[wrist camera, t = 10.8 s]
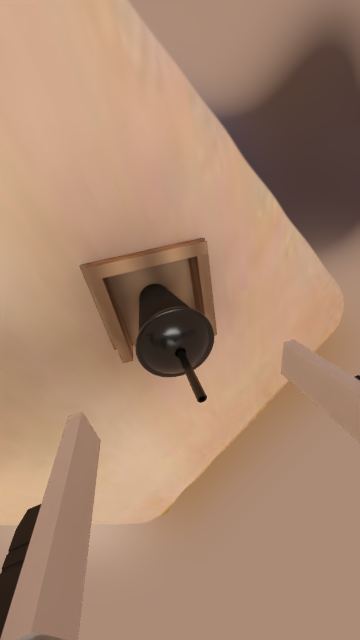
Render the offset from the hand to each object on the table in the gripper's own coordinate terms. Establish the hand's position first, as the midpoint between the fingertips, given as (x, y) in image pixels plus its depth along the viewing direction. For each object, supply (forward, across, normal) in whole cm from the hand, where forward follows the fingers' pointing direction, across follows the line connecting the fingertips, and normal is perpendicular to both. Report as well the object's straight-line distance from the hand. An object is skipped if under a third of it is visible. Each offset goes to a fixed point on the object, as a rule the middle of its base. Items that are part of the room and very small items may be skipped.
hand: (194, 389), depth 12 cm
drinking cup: (+20, 0, 0) cm, 20 cm away
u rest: (+21, +1, 0) cm, 21 cm away
